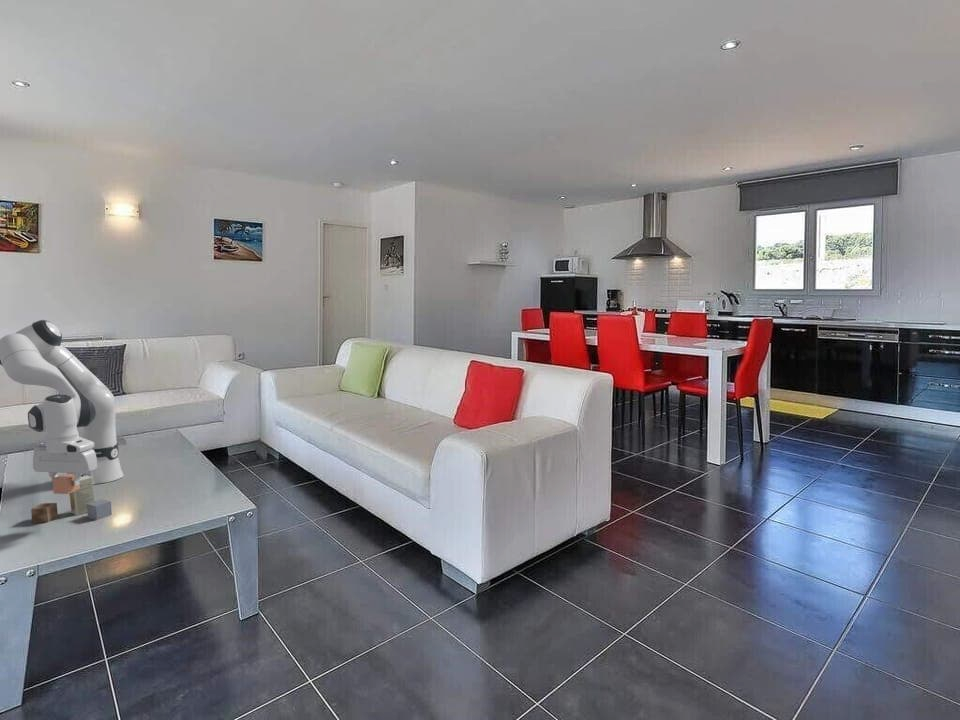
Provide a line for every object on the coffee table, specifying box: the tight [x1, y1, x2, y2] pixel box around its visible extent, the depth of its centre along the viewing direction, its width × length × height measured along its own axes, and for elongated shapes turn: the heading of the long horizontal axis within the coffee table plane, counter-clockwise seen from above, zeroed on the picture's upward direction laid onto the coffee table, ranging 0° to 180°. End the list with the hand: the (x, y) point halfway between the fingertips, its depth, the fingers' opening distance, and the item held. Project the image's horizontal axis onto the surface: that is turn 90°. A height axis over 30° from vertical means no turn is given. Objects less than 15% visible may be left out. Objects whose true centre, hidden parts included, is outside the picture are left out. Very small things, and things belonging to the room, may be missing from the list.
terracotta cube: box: [51, 473, 80, 495], centre depth 184 cm, size 5×5×5 cm
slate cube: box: [86, 498, 113, 521], centre depth 192 cm, size 5×5×5 cm
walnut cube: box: [30, 502, 59, 524], centre depth 189 cm, size 5×5×5 cm
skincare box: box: [69, 475, 96, 516], centre depth 195 cm, size 6×4×12 cm
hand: (66, 484), depth 184 cm, fingers closed on terracotta cube, 5 cm apart
